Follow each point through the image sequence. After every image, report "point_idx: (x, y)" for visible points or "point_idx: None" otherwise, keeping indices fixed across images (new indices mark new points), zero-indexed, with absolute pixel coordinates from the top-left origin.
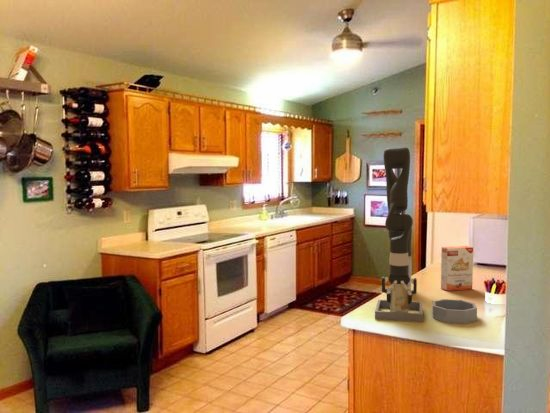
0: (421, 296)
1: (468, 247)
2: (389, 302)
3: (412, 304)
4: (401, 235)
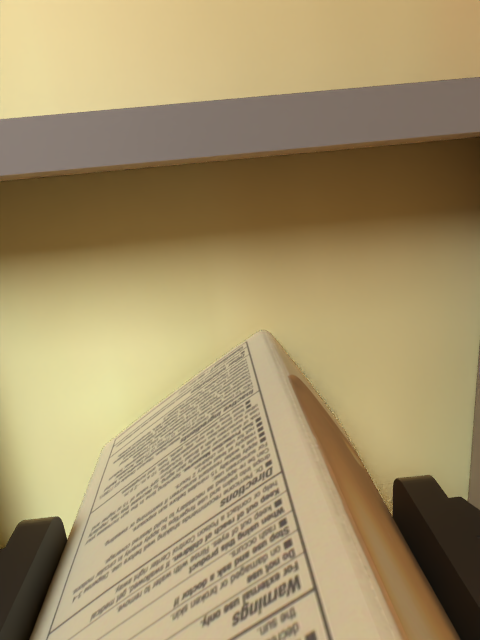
0: None
1: None
2: None
3: (426, 139)
4: None
